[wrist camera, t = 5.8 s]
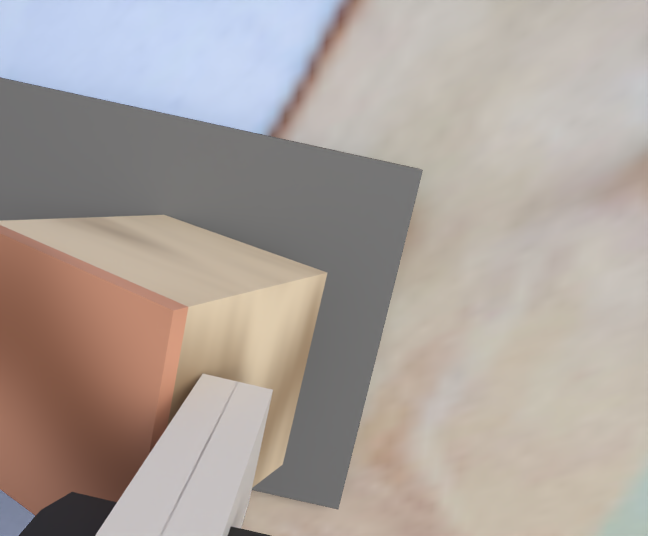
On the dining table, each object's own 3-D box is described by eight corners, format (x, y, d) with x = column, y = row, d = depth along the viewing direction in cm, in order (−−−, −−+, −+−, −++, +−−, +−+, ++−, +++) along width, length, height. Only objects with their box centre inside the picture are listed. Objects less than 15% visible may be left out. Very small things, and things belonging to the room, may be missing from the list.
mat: (338, 498, 21) (338, 509, 20) (-197, 377, 21) (-214, 385, 20) (420, 169, 18) (422, 170, 17) (-200, 33, 18) (-219, 30, 18)
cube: (282, 464, 17) (126, 583, 12) (136, 385, 20) (-46, 455, 14) (327, 272, 16) (173, 310, 10) (164, 214, 18) (-27, 221, 13)
